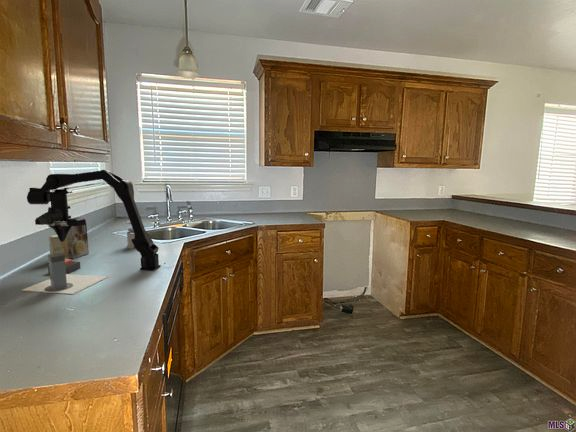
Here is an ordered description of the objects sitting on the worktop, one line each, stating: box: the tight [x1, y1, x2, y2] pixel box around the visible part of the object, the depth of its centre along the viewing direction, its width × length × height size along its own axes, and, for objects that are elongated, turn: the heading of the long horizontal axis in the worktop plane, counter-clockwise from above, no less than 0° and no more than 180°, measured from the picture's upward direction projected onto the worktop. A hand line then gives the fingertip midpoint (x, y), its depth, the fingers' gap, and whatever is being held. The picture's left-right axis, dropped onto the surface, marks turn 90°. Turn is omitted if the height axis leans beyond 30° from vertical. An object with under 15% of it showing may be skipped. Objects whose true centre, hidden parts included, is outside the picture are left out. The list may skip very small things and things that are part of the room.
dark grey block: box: [47, 253, 67, 290], centre depth 118 cm, size 4×4×12 cm
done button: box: [65, 258, 74, 266], centre depth 138 cm, size 4×4×3 cm
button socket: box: [47, 260, 81, 274], centre depth 138 cm, size 8×8×3 cm
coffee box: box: [67, 223, 90, 259], centre depth 160 cm, size 9×6×16 cm
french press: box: [125, 220, 145, 249], centre depth 181 cm, size 10×12×25 cm
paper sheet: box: [21, 273, 108, 295], centre depth 124 cm, size 20×18×1 cm
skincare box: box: [48, 234, 70, 259], centre depth 151 cm, size 6×4×12 cm
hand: (62, 241), depth 136 cm, fingers closed
